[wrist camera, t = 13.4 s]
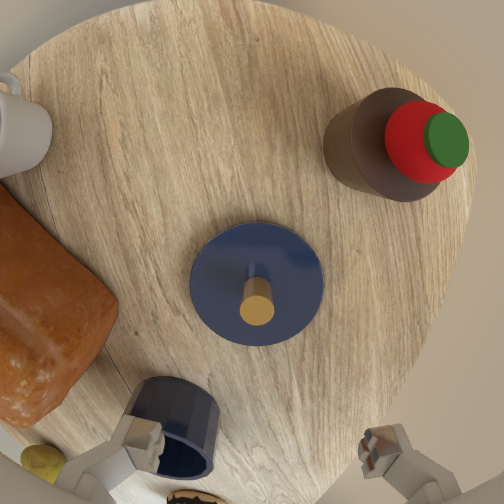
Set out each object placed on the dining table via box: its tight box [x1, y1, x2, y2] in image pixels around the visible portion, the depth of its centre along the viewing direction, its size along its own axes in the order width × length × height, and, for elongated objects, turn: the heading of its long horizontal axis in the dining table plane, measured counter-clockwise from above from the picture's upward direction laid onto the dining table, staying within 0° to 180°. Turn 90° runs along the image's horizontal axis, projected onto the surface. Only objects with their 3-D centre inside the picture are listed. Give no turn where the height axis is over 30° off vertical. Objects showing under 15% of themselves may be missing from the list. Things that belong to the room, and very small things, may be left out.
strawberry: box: [385, 101, 469, 184], centre depth 12 cm, size 4×4×5 cm
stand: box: [323, 88, 441, 202], centre depth 17 cm, size 7×7×7 cm
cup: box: [0, 71, 52, 178], centre depth 16 cm, size 11×8×8 cm
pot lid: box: [190, 222, 324, 346], centre depth 22 cm, size 11×11×5 cm
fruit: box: [21, 445, 68, 484], centre depth 31 cm, size 11×12×10 cm
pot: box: [122, 377, 220, 480], centre depth 25 cm, size 10×10×8 cm
